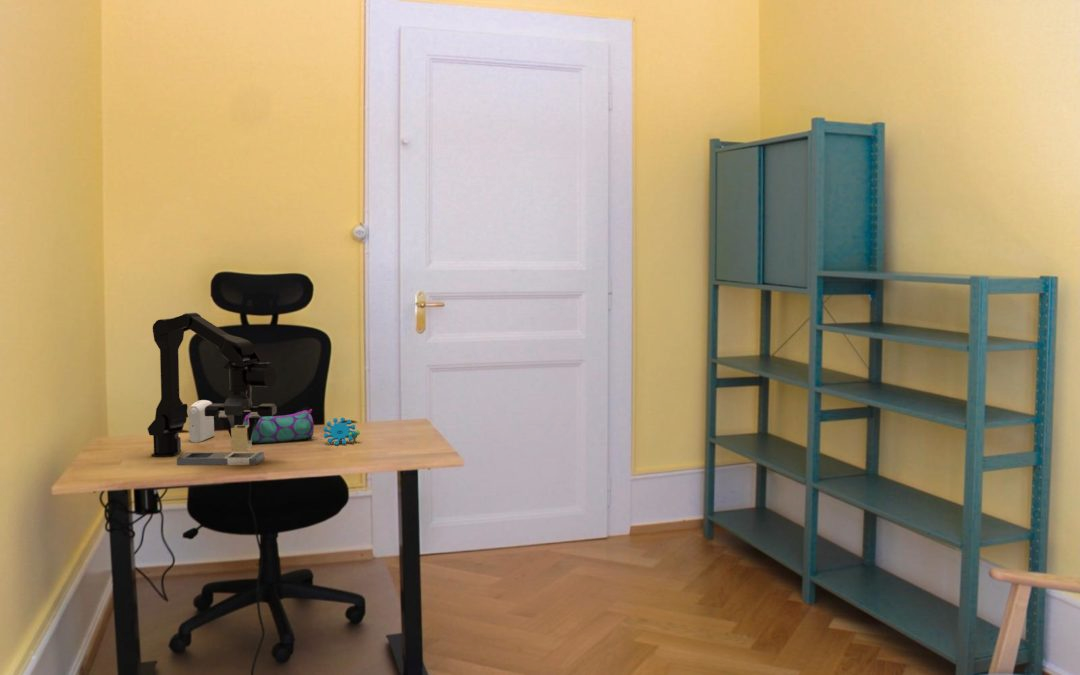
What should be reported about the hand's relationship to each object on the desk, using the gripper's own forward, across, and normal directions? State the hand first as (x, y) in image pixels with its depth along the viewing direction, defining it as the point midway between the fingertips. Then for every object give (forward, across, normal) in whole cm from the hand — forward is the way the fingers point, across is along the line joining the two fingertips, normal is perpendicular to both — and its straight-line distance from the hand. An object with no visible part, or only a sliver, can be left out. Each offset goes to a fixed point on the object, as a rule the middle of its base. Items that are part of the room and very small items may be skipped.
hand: (241, 440), depth 270 cm
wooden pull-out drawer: (+3, 0, 0) cm, 3 cm away
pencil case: (+6, +3, +29) cm, 30 cm away
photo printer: (+6, -22, +32) cm, 39 cm away
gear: (+6, +23, +26) cm, 35 cm away
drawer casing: (+6, -6, 0) cm, 8 cm away
